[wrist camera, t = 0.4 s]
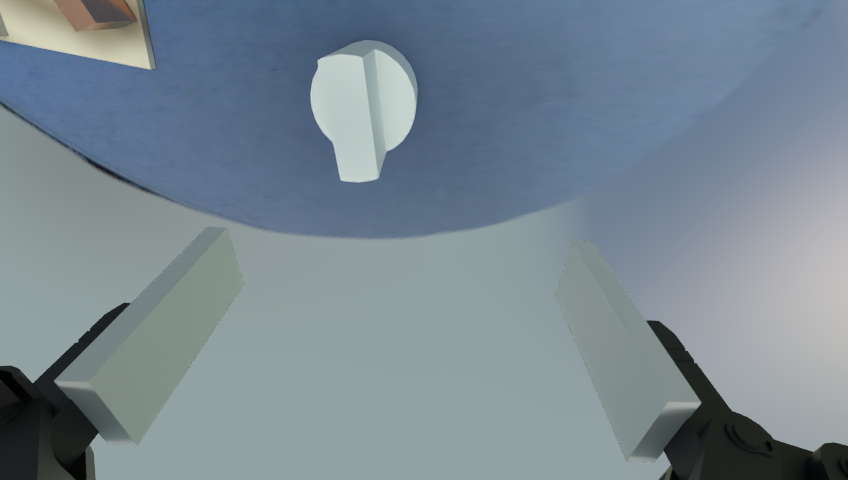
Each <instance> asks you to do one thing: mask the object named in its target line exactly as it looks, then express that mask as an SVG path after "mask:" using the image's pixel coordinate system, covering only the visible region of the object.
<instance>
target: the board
mask: <svg viewBox="0 0 848 480" xmlns="http://www.w3.org/2000/svg"><path fill="white" fill-rule="evenodd" d="M124 2H125V4H126V5H127V7H128V8H129V10H130V11H131V13H132V15H133V16H134V18H135V19H136V22H133V23H131V24H128V25H126V26H124V27H121V28H119V29H108V30H94V31H80V32H76V31H75V30H74V28H73V27H72V26H71V24H70V23H69V21H68V20H67V19H66V17H65V16H64V15H63V13H62V12H61V10H60V9H59V8H58V6H57V5H56V3H55V2H54V1H53V0H0V14H1V16H2V19H3V22H4V24H5V27H6V29H7V32H8V35H9V36H1V37H0V40H3V41H9V42H14V43H19V44H24V45H29V46H34V47H39V48H44V49H49V50H54V51H59V52H64V53H69V54H74V55H79V56H84V57H89V58H94V59H100V60H105V61H110V62H115V63H120V64H125V65H130V66H135V67H140V68H145V69H150V70H151V69H156V65H155V60H154V55H153V50H152V45H151V40H150V35H149V30H148V25H147V20H146V15H145V9H144V4H143V0H124Z"/></svg>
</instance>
